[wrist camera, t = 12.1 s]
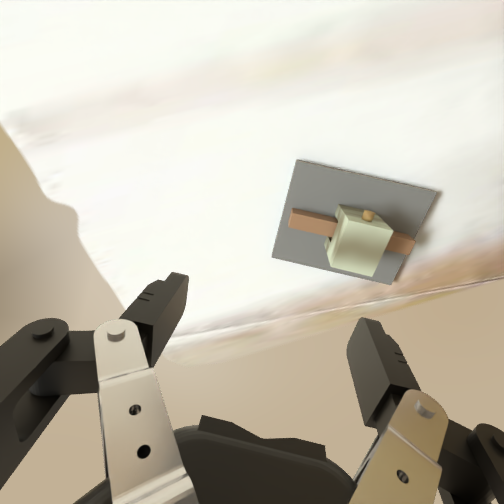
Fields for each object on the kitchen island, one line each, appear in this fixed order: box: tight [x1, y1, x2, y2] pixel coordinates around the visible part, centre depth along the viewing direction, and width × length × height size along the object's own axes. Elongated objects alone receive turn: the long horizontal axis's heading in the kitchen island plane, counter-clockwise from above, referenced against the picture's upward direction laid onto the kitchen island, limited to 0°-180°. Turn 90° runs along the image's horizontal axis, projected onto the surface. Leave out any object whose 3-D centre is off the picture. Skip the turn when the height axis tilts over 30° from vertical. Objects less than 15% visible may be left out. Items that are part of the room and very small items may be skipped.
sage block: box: [324, 204, 393, 277], centre depth 35 cm, size 7×5×7 cm
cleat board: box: [272, 160, 437, 285], centre depth 37 cm, size 14×18×4 cm
